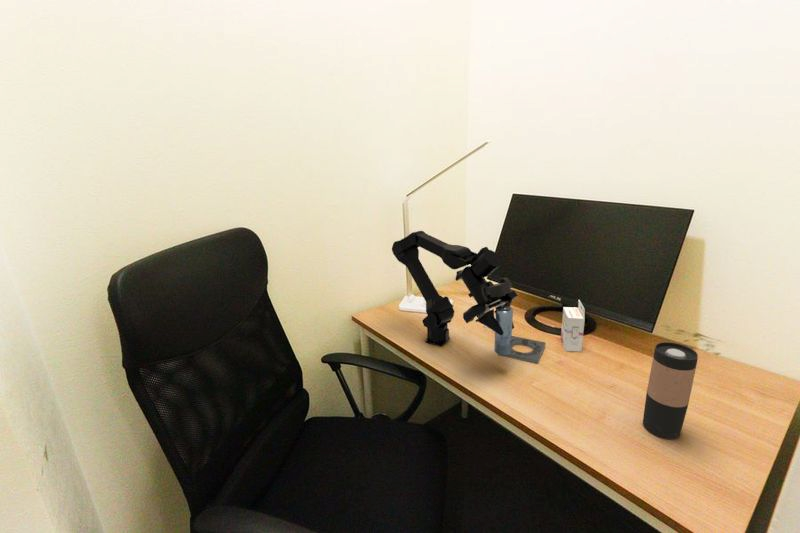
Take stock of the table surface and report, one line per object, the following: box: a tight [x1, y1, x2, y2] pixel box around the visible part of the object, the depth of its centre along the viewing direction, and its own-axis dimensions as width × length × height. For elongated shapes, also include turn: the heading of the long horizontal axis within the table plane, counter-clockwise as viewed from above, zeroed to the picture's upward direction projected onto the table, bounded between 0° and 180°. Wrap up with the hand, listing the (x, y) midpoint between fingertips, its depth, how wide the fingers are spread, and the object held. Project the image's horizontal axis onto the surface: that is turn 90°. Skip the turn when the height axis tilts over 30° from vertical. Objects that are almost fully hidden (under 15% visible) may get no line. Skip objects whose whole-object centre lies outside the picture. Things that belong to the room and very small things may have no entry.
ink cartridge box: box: [560, 299, 586, 353], centre depth 121 cm, size 9×5×15 cm, turn 168°
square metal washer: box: [497, 335, 546, 365], centre depth 121 cm, size 12×12×1 cm
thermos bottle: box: [493, 305, 514, 356], centre depth 106 cm, size 5×5×14 cm
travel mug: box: [642, 341, 699, 440], centre depth 83 cm, size 8×8×20 cm
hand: (507, 331), depth 105 cm, fingers closed on thermos bottle, 5 cm apart
